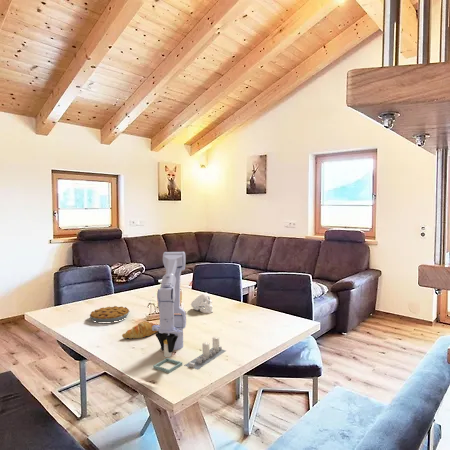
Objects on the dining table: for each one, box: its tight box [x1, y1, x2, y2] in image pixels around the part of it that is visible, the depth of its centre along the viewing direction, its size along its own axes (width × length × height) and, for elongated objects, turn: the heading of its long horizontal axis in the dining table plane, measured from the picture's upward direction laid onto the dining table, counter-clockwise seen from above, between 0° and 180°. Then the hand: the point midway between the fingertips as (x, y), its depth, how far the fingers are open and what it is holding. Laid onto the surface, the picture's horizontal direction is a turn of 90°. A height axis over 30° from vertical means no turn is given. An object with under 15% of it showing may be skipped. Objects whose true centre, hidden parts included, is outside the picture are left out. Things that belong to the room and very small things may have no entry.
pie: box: [89, 305, 130, 323], centre depth 210 cm, size 22×22×5 cm
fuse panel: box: [184, 345, 227, 370], centre depth 153 cm, size 7×21×2 cm, turn 148°
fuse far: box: [211, 336, 220, 353], centre depth 159 cm, size 3×3×6 cm
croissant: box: [121, 321, 160, 339], centre depth 183 cm, size 21×10×8 cm, turn 127°
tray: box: [152, 357, 183, 374], centre depth 146 cm, size 8×8×2 cm
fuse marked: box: [163, 340, 173, 358], centre depth 145 cm, size 3×3×6 cm
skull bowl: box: [190, 292, 214, 314], centre depth 222 cm, size 10×14×12 cm
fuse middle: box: [202, 341, 211, 359], centre depth 153 cm, size 3×3×6 cm
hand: (167, 350), depth 145 cm, fingers closed on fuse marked, 3 cm apart
